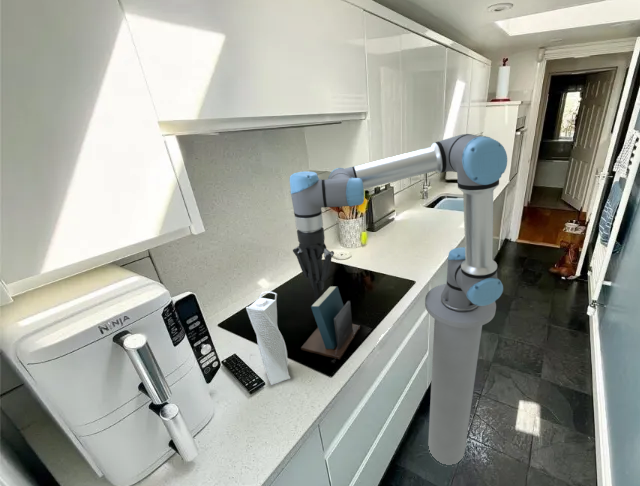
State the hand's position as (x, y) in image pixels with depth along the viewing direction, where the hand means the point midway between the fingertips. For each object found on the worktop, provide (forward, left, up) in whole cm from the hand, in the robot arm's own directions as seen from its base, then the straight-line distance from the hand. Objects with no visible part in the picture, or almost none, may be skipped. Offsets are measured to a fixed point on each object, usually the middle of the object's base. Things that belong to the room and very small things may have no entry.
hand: (319, 297), depth 98 cm
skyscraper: (+4, +19, -16) cm, 25 cm away
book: (-5, 0, -15) cm, 16 cm away
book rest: (-3, 0, -16) cm, 16 cm away
